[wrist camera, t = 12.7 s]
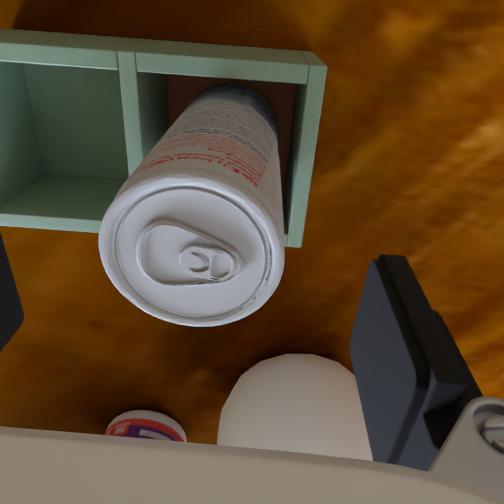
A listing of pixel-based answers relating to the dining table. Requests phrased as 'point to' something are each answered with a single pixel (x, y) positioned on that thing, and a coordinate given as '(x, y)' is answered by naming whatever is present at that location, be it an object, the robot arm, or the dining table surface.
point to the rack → (132, 118)
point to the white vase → (296, 409)
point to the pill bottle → (146, 426)
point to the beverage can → (202, 214)
